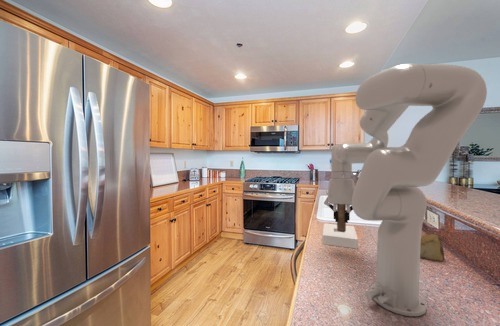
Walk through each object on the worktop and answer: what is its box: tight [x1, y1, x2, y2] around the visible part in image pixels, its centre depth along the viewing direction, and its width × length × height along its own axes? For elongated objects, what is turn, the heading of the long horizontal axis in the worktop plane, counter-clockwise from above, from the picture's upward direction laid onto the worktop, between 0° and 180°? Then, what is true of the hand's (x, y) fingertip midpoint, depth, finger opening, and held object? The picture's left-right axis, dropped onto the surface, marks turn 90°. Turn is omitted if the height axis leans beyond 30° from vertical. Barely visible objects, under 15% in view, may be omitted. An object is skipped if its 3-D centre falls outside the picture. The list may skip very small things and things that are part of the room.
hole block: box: [321, 222, 359, 250], centre depth 102 cm, size 18×14×4 cm
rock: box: [420, 233, 445, 262], centre depth 84 cm, size 11×9×10 cm
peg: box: [336, 204, 347, 232], centre depth 88 cm, size 3×3×11 cm
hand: (341, 221), depth 88 cm, fingers closed on peg, 3 cm apart
